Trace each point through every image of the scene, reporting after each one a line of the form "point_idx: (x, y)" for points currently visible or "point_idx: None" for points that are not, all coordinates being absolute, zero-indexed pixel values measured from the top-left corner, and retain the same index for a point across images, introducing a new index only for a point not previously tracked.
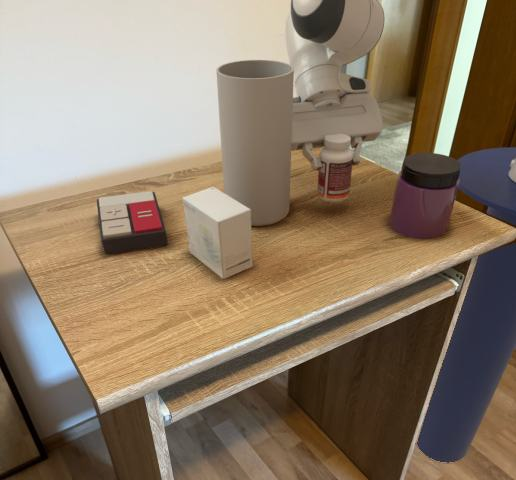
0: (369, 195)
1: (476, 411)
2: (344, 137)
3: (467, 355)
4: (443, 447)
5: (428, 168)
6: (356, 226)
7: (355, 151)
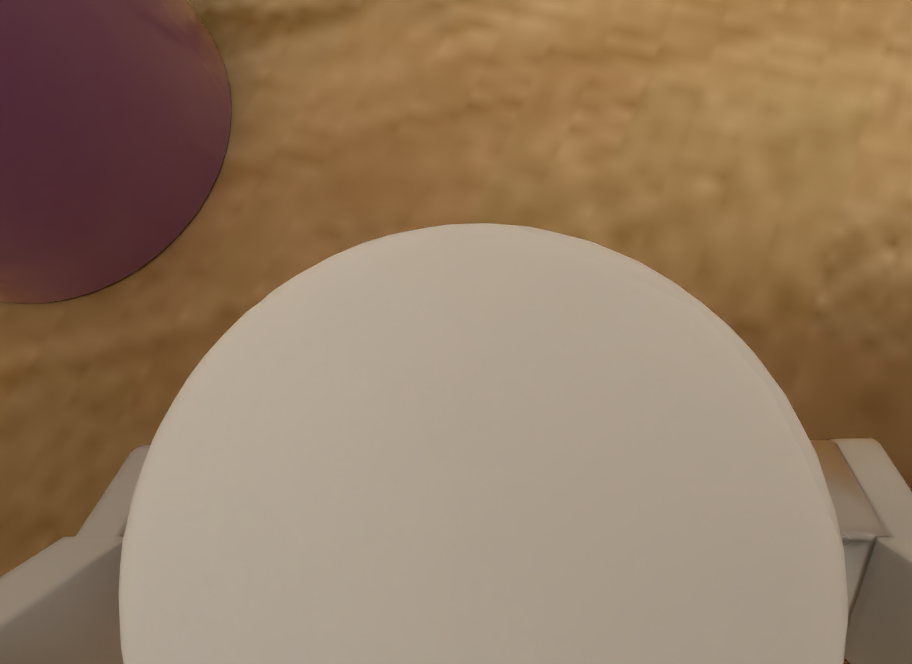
0: None
1: None
2: (281, 525)
3: None
4: None
5: None
6: (440, 207)
7: (108, 587)
